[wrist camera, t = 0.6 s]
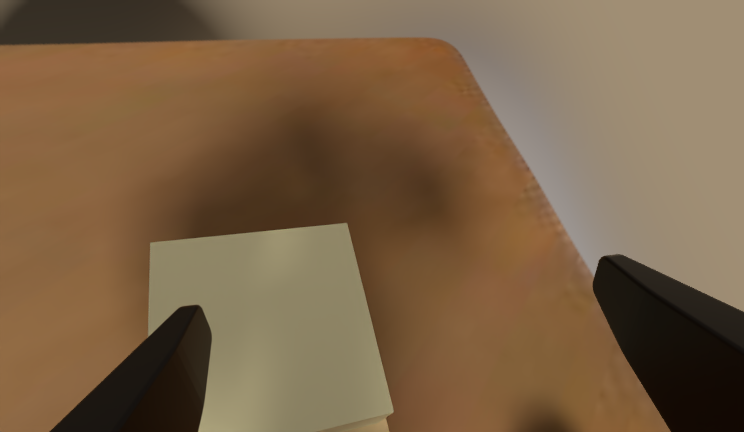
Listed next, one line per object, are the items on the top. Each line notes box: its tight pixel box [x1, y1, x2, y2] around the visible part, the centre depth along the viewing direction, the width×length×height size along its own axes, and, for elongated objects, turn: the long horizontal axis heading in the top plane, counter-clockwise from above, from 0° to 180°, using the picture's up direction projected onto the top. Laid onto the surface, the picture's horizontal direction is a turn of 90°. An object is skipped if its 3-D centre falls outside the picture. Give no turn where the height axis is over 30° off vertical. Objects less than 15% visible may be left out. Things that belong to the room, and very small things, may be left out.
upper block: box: [148, 223, 394, 432], centre depth 19 cm, size 9×9×3 cm
